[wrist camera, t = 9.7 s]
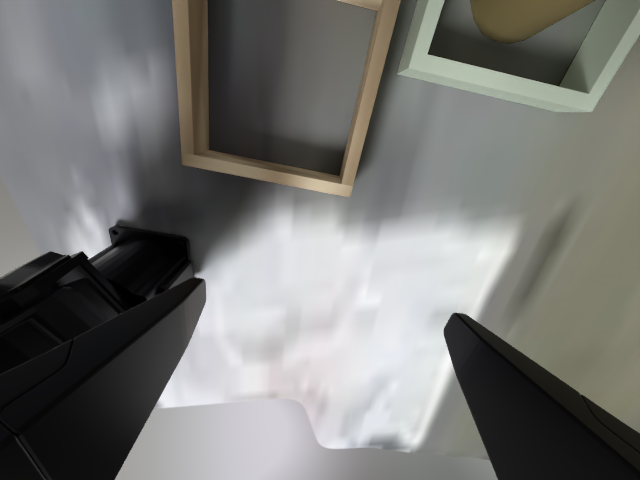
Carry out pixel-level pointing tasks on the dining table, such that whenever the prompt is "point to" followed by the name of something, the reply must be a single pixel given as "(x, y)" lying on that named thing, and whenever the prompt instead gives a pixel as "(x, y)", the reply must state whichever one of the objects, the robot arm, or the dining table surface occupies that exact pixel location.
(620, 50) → the bin
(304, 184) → the bin
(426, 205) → the dining table surface
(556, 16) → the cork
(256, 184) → the dining table surface
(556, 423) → the robot arm
